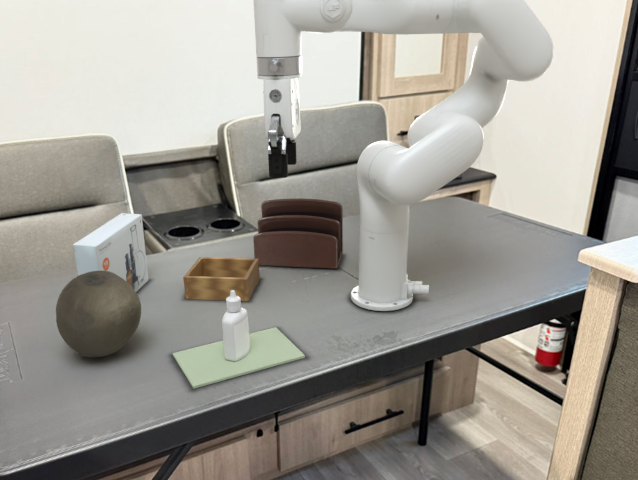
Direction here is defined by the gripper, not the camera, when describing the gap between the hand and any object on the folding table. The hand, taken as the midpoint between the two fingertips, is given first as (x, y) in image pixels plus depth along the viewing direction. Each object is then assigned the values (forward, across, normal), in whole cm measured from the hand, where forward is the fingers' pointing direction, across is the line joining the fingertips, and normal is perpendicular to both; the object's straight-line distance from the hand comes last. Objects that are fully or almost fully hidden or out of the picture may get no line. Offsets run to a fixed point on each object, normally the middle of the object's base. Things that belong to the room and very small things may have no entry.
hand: (283, 170), depth 108 cm
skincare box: (+28, +3, +37) cm, 47 cm away
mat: (+28, -18, +6) cm, 34 cm away
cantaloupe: (+28, -19, +30) cm, 46 cm away
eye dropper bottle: (+28, -18, +6) cm, 34 cm away
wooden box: (+28, +10, +16) cm, 34 cm away
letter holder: (+28, +28, +2) cm, 40 cm away
